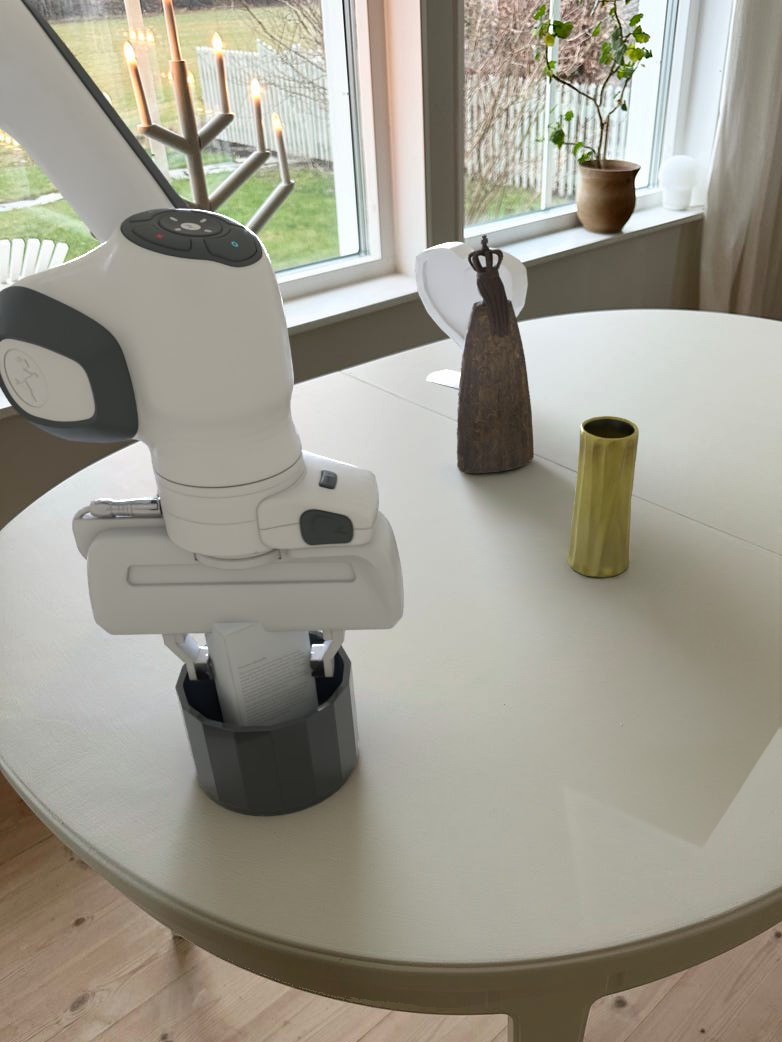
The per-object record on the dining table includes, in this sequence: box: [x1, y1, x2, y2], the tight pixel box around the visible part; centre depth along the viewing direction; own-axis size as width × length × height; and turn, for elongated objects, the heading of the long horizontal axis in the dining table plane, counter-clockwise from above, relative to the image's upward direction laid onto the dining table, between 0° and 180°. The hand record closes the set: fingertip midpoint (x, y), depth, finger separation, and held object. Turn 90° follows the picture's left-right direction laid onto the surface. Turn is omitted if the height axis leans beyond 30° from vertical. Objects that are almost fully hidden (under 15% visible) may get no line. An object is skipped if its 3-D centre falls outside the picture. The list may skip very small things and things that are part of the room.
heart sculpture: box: [414, 241, 529, 390], centre depth 128 cm, size 16×5×18 cm, turn 56°
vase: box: [566, 415, 640, 579], centre depth 90 cm, size 6×6×14 cm
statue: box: [456, 234, 535, 475], centre depth 105 cm, size 9×8×25 cm
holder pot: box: [174, 631, 360, 817], centre depth 69 cm, size 12×12×8 cm
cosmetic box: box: [203, 622, 319, 726], centre depth 67 cm, size 6×4×12 cm
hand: (264, 673), depth 67 cm, fingers closed on cosmetic box, 7 cm apart
